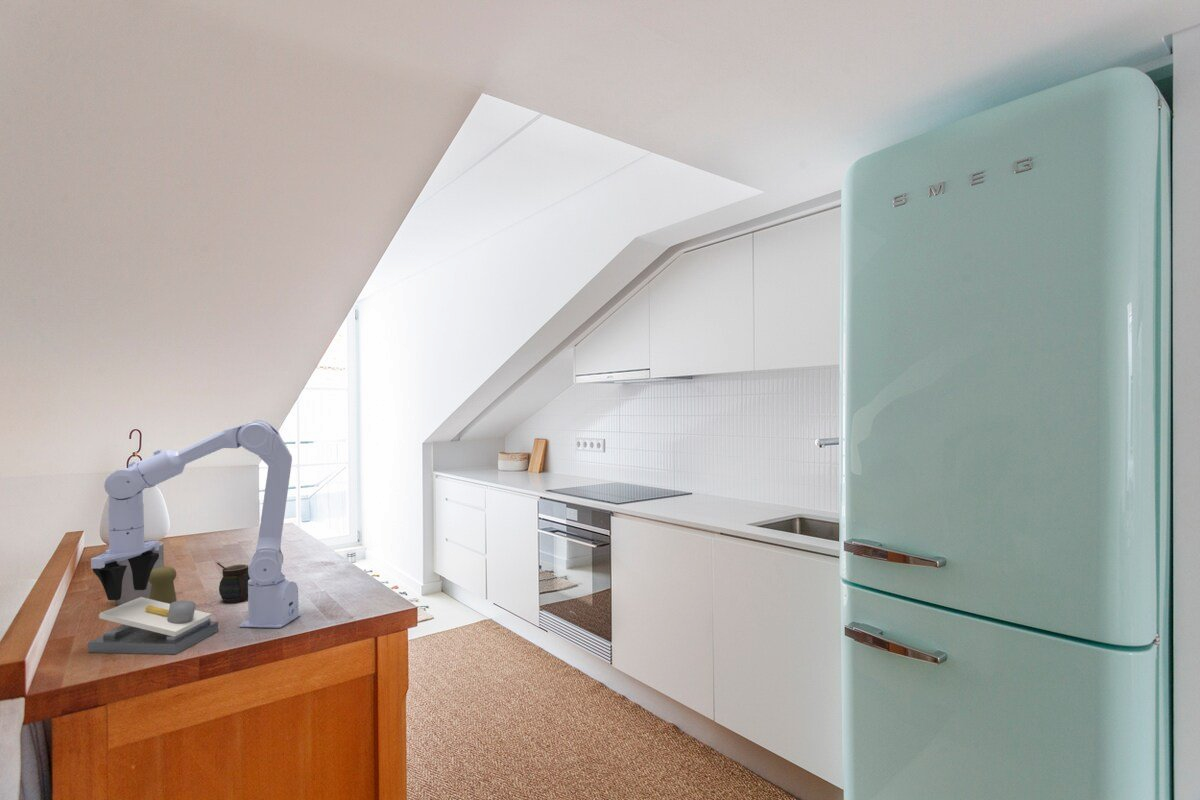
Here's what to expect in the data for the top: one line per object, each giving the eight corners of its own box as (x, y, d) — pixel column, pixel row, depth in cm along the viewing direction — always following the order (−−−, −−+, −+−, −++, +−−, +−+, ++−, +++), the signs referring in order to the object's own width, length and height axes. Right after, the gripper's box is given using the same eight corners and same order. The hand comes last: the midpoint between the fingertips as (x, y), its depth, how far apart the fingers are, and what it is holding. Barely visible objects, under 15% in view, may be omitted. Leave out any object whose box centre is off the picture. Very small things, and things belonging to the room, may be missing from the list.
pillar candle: (118, 599, 155) (116, 538, 155) (166, 592, 160) (164, 533, 160) (112, 610, 147) (111, 546, 146) (163, 603, 152) (162, 541, 152)
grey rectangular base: (218, 631, 133) (218, 616, 133) (175, 654, 121) (175, 638, 121) (138, 629, 134) (138, 615, 134) (88, 652, 122) (88, 636, 122)
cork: (173, 610, 146) (173, 562, 146) (182, 615, 143) (182, 567, 143) (142, 617, 142) (141, 568, 142) (151, 623, 138) (150, 573, 138)
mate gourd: (259, 598, 155) (258, 557, 154) (226, 607, 148) (225, 565, 148) (244, 593, 159) (243, 553, 159) (212, 601, 152) (211, 560, 152)
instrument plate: (210, 618, 132) (213, 599, 132) (174, 636, 122) (178, 616, 122) (140, 601, 133) (143, 583, 133) (98, 618, 123) (102, 598, 123)
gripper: (137, 520, 135) (138, 583, 135) (75, 535, 121) (76, 606, 121) (168, 520, 135) (168, 584, 135) (110, 535, 120) (111, 606, 120)
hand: (127, 594), depth 128 cm, fingers open, 6 cm apart
